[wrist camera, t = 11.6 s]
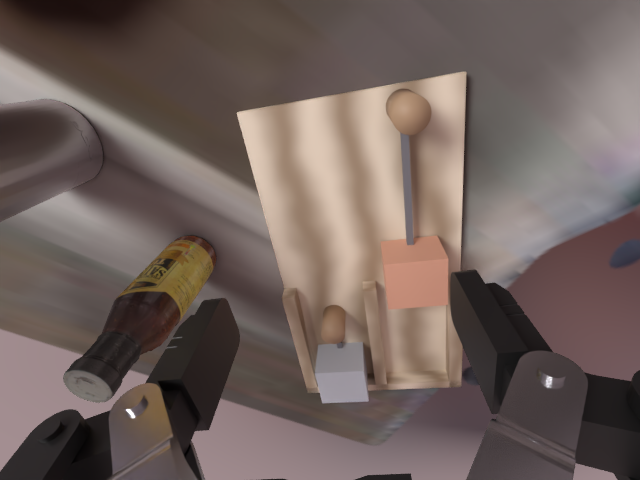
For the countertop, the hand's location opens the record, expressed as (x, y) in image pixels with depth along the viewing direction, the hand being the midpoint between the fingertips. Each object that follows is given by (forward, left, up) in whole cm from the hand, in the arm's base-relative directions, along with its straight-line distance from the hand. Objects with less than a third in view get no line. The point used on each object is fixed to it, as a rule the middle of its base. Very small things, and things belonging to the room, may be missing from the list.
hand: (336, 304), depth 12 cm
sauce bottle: (-21, -11, -27) cm, 36 cm away
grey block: (-5, -27, -25) cm, 37 cm away
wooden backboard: (+1, -15, -26) cm, 30 cm away
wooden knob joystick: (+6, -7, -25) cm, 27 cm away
